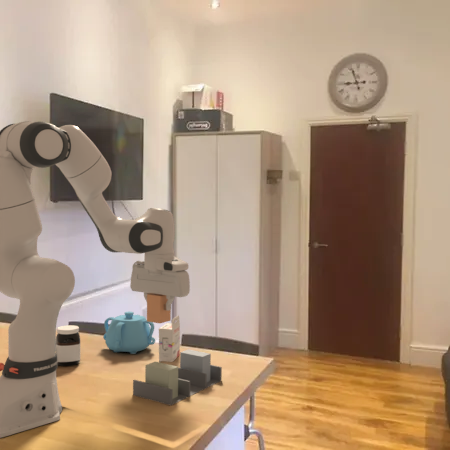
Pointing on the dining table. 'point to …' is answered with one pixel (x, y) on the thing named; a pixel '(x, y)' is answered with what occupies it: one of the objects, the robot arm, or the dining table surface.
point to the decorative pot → (128, 333)
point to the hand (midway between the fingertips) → (158, 308)
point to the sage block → (162, 376)
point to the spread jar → (68, 345)
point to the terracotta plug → (157, 309)
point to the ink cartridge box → (169, 341)
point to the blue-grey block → (196, 361)
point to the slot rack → (187, 386)
